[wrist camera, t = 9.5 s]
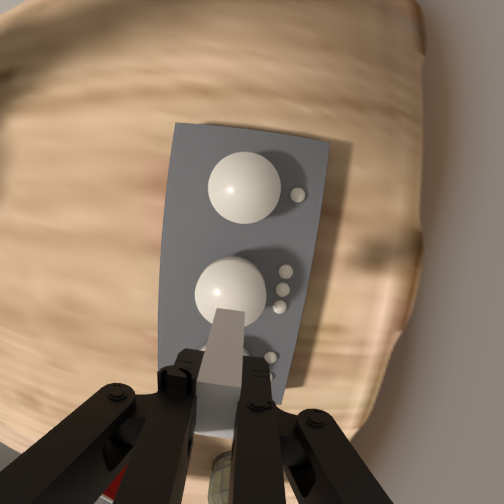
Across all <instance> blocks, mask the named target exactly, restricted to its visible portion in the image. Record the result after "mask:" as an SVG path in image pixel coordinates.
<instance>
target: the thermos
mask: <svg viewBox="0 0 504 504" xmlns="http://www.w3.org/2000/svg"><path fill="white" fill-rule="evenodd" d="M230 455H231V451H230V452H226V453H223V454H222V455H220V456H218V457H217V458H216V459H215V460H214V462H213V467H212V471H213V472H212V475H211V476H210V482H209V491H208V503H209V504H228V490H229V477H230V463H231V460H230Z"/></svg>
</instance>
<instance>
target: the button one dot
mask: <svg viewBox="0 0 504 504" xmlns="http://www.w3.org/2000/svg"><path fill="white" fill-rule="evenodd" d="M280 193H281V183H280V178H279V175H278V173H277V171H276V169H275V167H274V166H273V165H272V164H271V163H270V162H269V161H268V160H267V159H266V158H264V157H263V156H261V155H259V154H256V153H252V152H238V153H234V154H231V155H229V156H227V157H225V158H223V159H222V160H221V161H220V162H219V163H218V164H217V165H216V166H215V167H214V169H213V171H212V173H211V175H210V178H209V182H208V194H209V198H210V201H211V203H212V205H213V207H214V208H215V210H216V211H217V212H218V213H219V214H220V215H221V216H222V217H224V218H225V219H227V220H229V221H232V222H235V223H239V224H249V223H254V222H257V221H260V220H262V219H263V218H265V217H266V216H268V215H269V214H270V213H271V212H272V211H273V210H274V208H275V207H276V205H277V203H278V200H279V198H280Z"/></svg>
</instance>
